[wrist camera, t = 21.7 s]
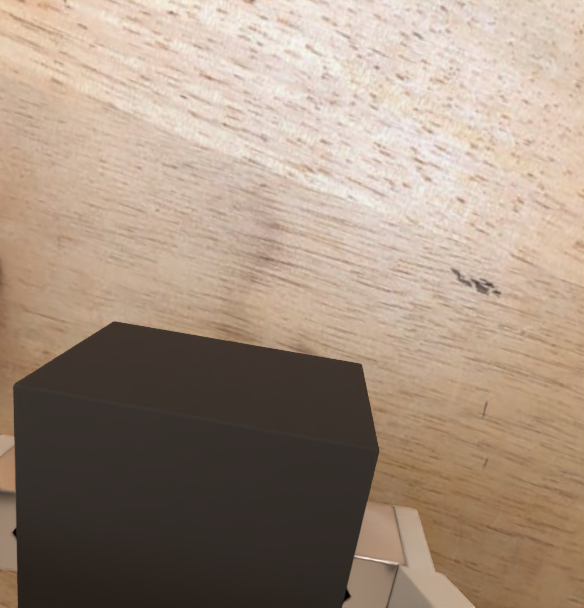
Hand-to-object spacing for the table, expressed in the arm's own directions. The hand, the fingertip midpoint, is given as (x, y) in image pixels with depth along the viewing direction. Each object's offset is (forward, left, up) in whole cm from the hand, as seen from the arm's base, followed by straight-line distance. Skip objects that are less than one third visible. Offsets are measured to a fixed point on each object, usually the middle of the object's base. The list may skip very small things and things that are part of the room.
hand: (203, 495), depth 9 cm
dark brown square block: (0, 0, -2) cm, 2 cm away
